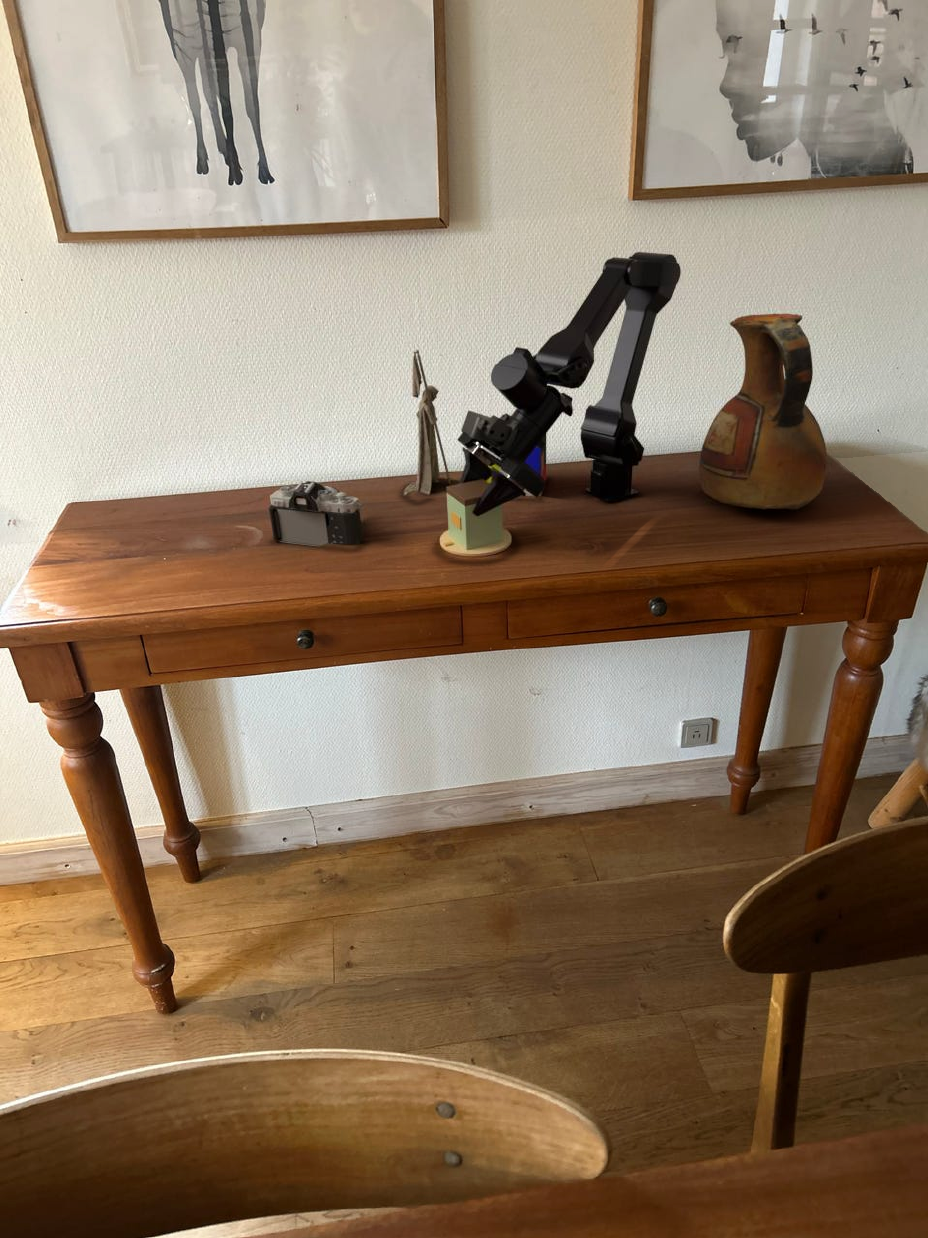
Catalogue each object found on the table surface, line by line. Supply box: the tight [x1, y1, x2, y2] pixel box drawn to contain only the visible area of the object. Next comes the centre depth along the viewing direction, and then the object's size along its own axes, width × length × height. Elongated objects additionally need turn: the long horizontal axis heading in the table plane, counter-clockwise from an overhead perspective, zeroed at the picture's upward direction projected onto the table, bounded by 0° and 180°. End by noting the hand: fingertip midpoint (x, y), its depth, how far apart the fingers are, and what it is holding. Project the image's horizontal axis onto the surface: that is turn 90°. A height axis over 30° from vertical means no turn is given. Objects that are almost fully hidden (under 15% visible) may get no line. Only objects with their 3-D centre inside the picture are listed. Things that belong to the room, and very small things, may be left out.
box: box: [439, 479, 513, 558], centre depth 135 cm, size 11×11×8 cm
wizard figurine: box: [403, 349, 452, 496], centre depth 152 cm, size 10×8×25 cm
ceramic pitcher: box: [698, 313, 828, 510], centre depth 141 cm, size 20×20×30 cm
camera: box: [268, 480, 364, 548], centre depth 140 cm, size 16×9×10 cm, turn 71°
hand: (465, 507), depth 134 cm, fingers closed on box, 6 cm apart
